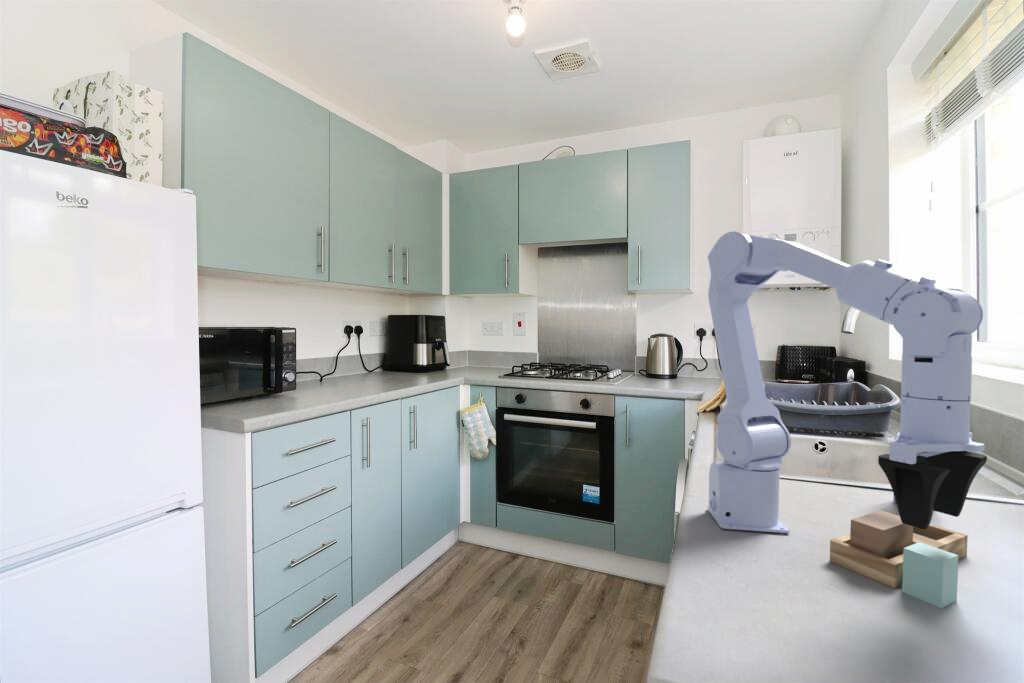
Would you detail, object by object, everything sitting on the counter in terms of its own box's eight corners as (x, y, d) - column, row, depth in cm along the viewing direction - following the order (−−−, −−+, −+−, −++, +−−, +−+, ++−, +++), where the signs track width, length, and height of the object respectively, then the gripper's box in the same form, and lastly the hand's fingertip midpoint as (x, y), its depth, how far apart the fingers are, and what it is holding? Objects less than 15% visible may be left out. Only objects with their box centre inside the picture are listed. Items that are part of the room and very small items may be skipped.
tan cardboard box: (882, 567, 55) (883, 530, 55) (849, 555, 58) (850, 519, 58) (912, 555, 58) (913, 520, 58) (880, 544, 61) (881, 510, 61)
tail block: (941, 608, 49) (943, 562, 49) (902, 591, 53) (903, 548, 52) (956, 600, 51) (958, 555, 51) (917, 584, 54) (919, 542, 54)
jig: (894, 588, 53) (895, 565, 53) (829, 560, 59) (830, 539, 59) (966, 555, 61) (967, 535, 61) (903, 534, 67) (903, 515, 67)
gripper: (952, 407, 44) (948, 547, 45) (1010, 398, 51) (1007, 520, 52) (868, 397, 51) (865, 521, 51) (930, 390, 57) (927, 499, 58)
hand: (930, 519), depth 52 cm, fingers open, 7 cm apart
